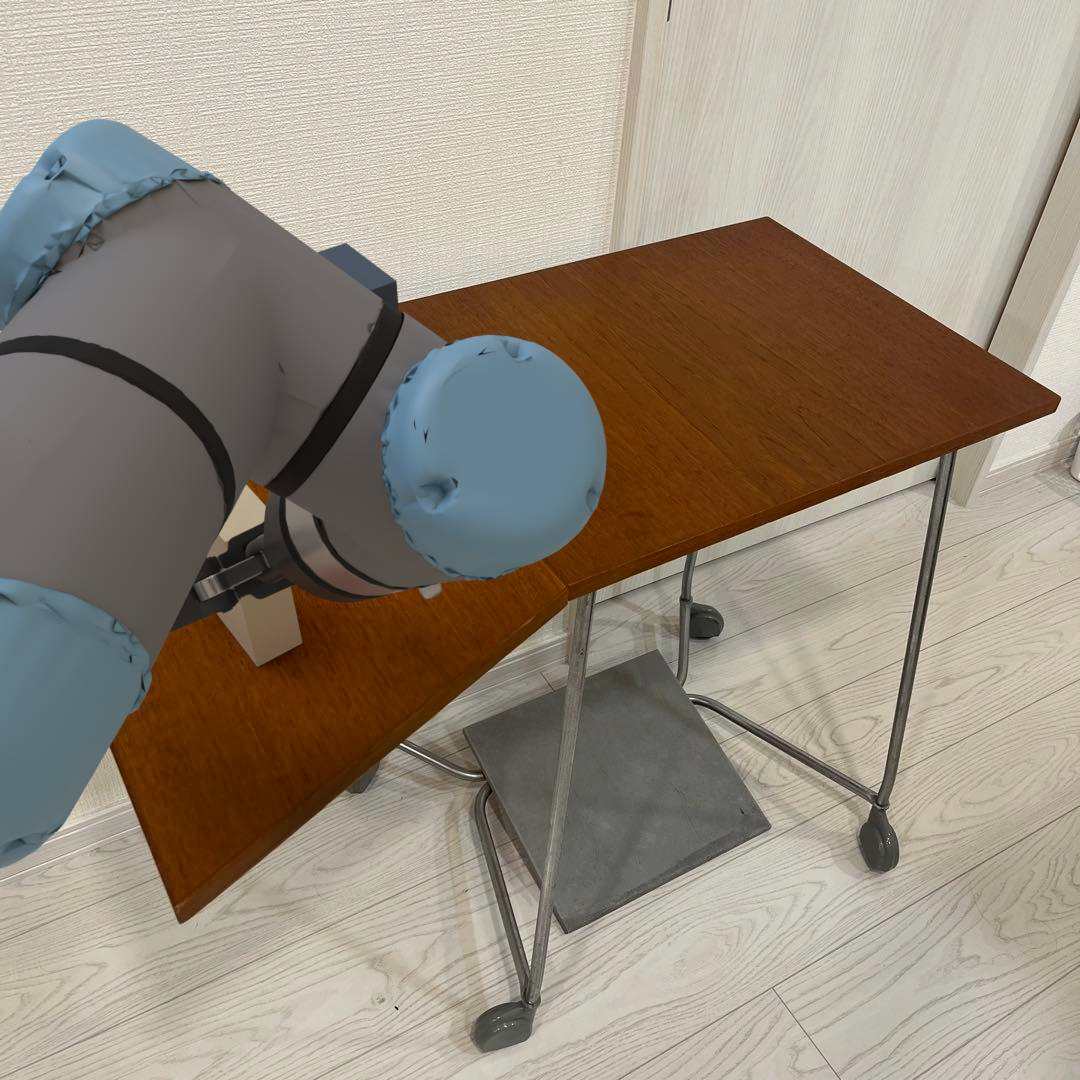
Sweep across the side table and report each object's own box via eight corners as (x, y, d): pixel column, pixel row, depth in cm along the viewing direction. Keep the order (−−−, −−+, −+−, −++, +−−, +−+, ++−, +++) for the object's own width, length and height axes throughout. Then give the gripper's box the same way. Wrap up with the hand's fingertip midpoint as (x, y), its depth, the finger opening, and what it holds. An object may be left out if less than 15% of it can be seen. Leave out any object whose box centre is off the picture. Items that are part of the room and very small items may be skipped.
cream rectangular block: (257, 667, 69) (224, 542, 61) (205, 599, 74) (167, 473, 65) (302, 643, 71) (276, 518, 63) (248, 577, 75) (217, 452, 67)
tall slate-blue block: (373, 413, 90) (360, 293, 82) (326, 371, 95) (310, 254, 86) (405, 399, 92) (396, 280, 83) (358, 358, 96) (346, 242, 88)
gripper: (134, 731, 39) (93, 712, 58) (612, 479, 51) (450, 530, 70) (42, 557, 38) (30, 595, 57) (549, 341, 50) (402, 431, 69)
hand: (260, 559), depth 63 cm, fingers open, 13 cm apart
